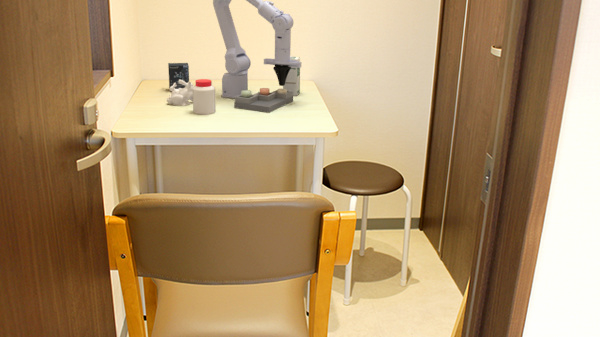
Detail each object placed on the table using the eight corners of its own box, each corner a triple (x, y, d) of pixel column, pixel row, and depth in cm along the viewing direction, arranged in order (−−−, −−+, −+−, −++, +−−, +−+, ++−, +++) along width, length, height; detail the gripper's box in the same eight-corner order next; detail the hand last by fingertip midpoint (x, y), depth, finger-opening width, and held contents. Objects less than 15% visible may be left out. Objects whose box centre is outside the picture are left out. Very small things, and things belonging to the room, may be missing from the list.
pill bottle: (197, 115, 205) (196, 83, 202) (190, 110, 212) (189, 79, 208) (218, 113, 209) (218, 82, 205) (211, 108, 215) (210, 77, 212)
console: (234, 107, 216) (234, 97, 215) (260, 96, 234) (260, 86, 232) (269, 112, 211) (269, 101, 210) (293, 100, 228) (293, 90, 227)
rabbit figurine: (200, 101, 224) (198, 75, 221) (200, 106, 217) (199, 80, 214) (167, 102, 222) (165, 76, 219) (166, 108, 215) (165, 81, 212)
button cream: (275, 95, 225) (275, 90, 224) (279, 93, 228) (279, 88, 227) (284, 96, 223) (284, 91, 223) (288, 94, 226) (288, 89, 226)
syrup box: (297, 96, 236) (297, 59, 231) (282, 95, 237) (282, 58, 232) (299, 93, 241) (300, 56, 236) (285, 92, 242) (286, 55, 237)
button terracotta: (257, 94, 220) (257, 89, 220) (262, 92, 223) (262, 87, 223) (266, 95, 219) (266, 90, 218) (271, 93, 222) (271, 88, 221)
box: (169, 92, 238) (168, 65, 234) (169, 89, 243) (167, 62, 239) (189, 91, 240) (188, 65, 236) (189, 88, 245) (187, 62, 241)
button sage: (239, 97, 216) (239, 91, 215) (244, 95, 219) (244, 89, 219) (248, 98, 215) (248, 92, 214) (253, 96, 218) (253, 90, 217)
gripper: (259, 48, 219) (259, 85, 224) (296, 51, 213) (295, 89, 218) (268, 45, 225) (268, 81, 230) (304, 49, 219) (303, 85, 224)
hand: (282, 85), depth 224 cm, fingers closed
